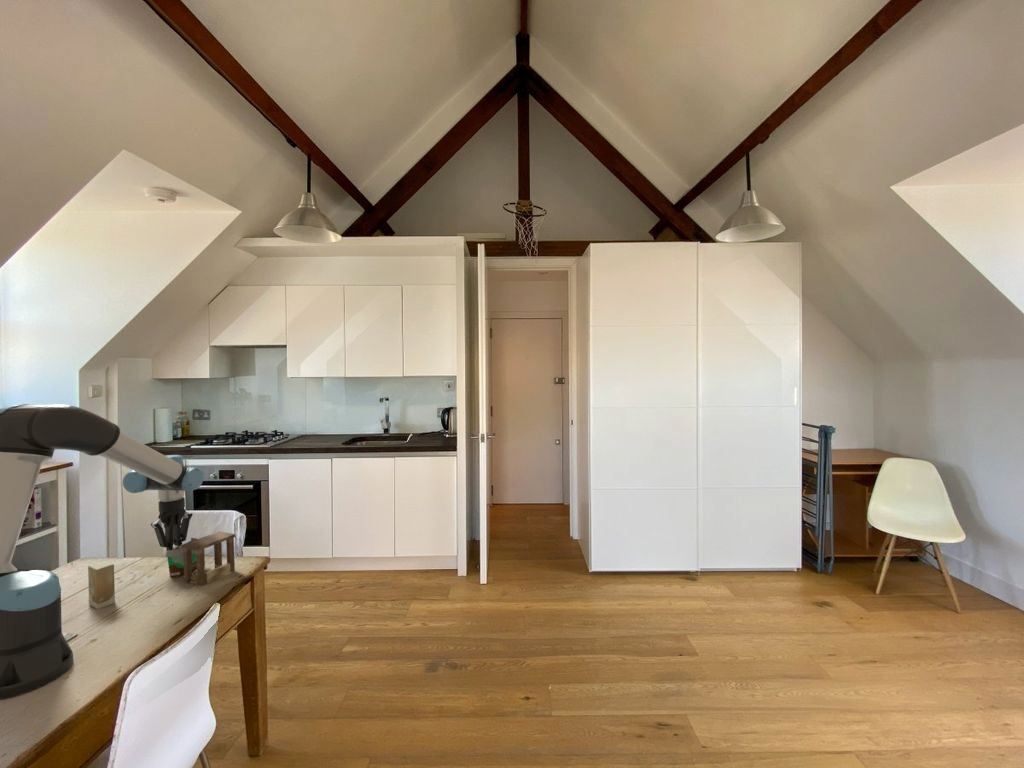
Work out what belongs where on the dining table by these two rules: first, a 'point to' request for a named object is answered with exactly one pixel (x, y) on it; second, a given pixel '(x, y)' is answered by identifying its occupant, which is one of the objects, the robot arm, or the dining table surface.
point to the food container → (179, 561)
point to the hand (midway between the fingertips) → (173, 563)
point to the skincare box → (101, 584)
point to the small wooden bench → (200, 558)
